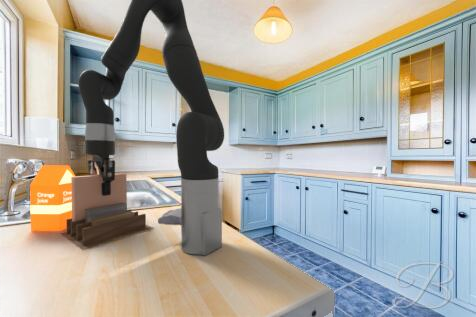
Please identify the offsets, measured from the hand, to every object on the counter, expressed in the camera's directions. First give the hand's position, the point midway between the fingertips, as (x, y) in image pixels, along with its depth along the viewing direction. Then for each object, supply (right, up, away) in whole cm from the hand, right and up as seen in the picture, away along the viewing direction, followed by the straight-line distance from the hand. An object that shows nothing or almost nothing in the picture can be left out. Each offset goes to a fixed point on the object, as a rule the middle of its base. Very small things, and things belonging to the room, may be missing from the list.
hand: (101, 193), depth 63 cm
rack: (+4, -11, -3) cm, 12 cm away
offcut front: (+7, -10, -5) cm, 13 cm away
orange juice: (-14, -12, +1) cm, 18 cm away
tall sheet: (0, -10, 0) cm, 10 cm away
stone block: (+20, -12, +9) cm, 25 cm away
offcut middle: (+3, -10, -2) cm, 11 cm away
